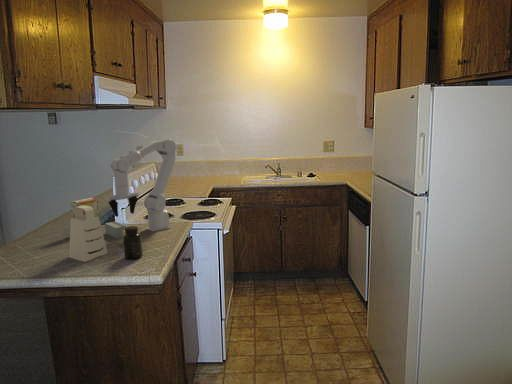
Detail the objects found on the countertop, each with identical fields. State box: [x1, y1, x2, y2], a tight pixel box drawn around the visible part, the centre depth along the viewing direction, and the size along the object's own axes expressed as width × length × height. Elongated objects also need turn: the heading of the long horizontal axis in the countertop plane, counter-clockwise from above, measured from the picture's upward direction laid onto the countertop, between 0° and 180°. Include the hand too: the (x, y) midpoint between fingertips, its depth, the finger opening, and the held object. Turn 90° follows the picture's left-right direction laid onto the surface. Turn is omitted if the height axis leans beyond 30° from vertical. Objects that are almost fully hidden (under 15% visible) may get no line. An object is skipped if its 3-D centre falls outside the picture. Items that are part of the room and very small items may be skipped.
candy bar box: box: [70, 197, 100, 230], centre depth 203 cm, size 11×5×16 cm, turn 149°
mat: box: [103, 233, 151, 248], centre depth 195 cm, size 13×26×1 cm, turn 42°
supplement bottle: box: [123, 225, 143, 261], centre depth 168 cm, size 7×7×12 cm
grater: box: [68, 205, 108, 263], centre depth 171 cm, size 10×10×20 cm
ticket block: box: [104, 221, 127, 239], centre depth 199 cm, size 5×12×5 cm, turn 41°
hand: (124, 214), depth 196 cm, fingers open, 7 cm apart
